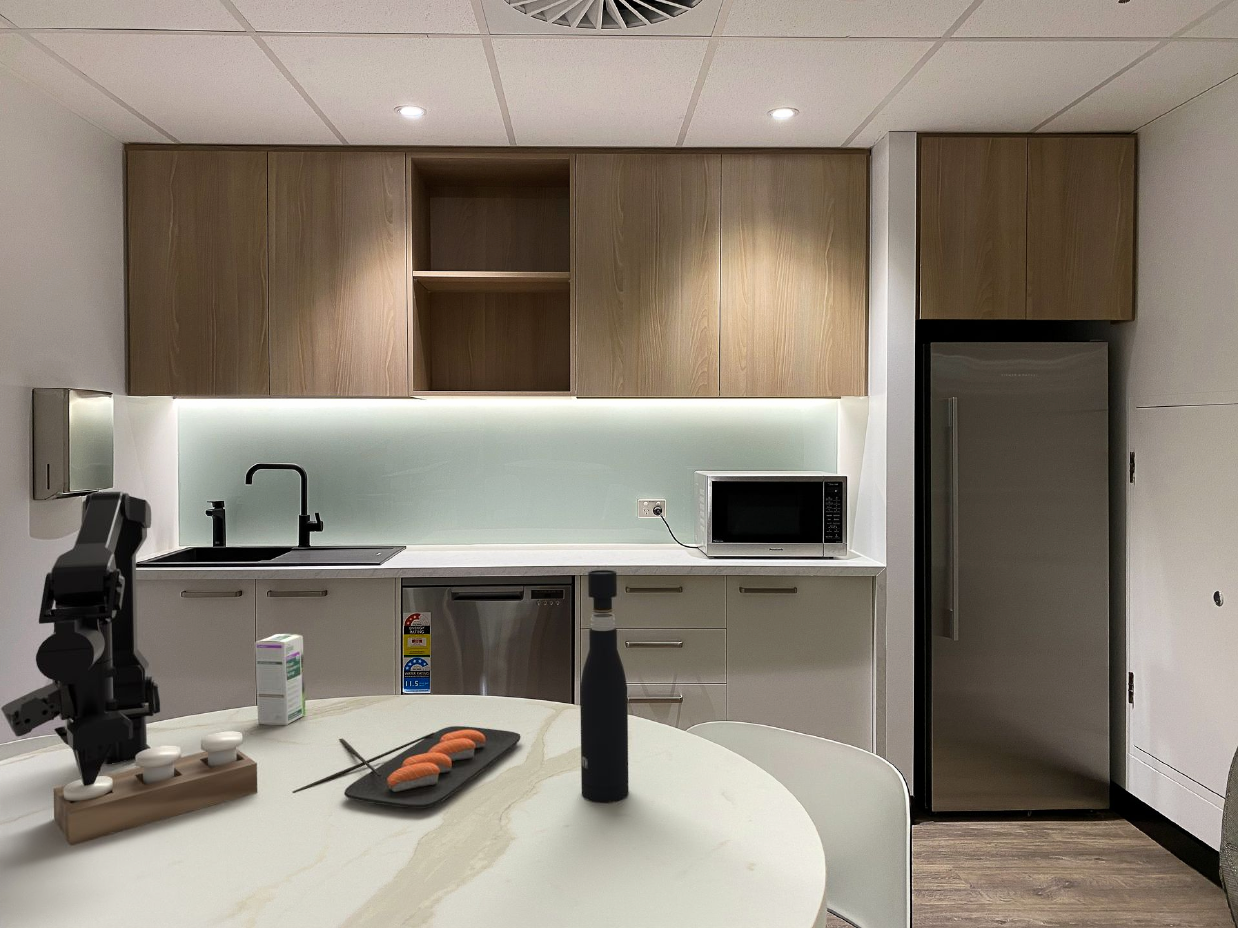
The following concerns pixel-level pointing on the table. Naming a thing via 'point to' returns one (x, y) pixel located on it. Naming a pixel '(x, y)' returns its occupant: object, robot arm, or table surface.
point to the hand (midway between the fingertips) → (88, 784)
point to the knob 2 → (221, 747)
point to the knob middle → (158, 763)
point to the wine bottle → (603, 701)
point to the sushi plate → (427, 767)
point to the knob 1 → (87, 789)
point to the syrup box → (280, 679)
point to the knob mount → (154, 796)
